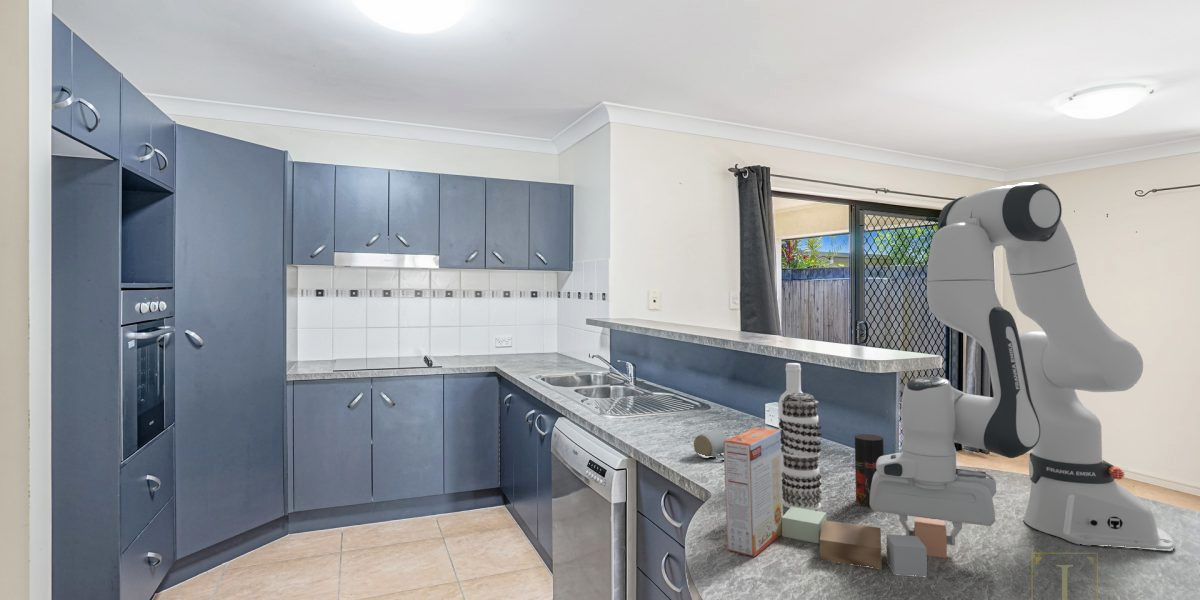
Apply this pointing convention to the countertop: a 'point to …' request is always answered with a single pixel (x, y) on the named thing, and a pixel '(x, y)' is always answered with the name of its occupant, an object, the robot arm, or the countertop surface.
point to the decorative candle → (800, 452)
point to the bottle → (790, 390)
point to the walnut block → (851, 544)
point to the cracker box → (753, 490)
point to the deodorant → (866, 464)
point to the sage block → (803, 524)
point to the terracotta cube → (932, 536)
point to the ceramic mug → (710, 443)
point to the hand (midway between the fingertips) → (930, 541)
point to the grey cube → (906, 555)
